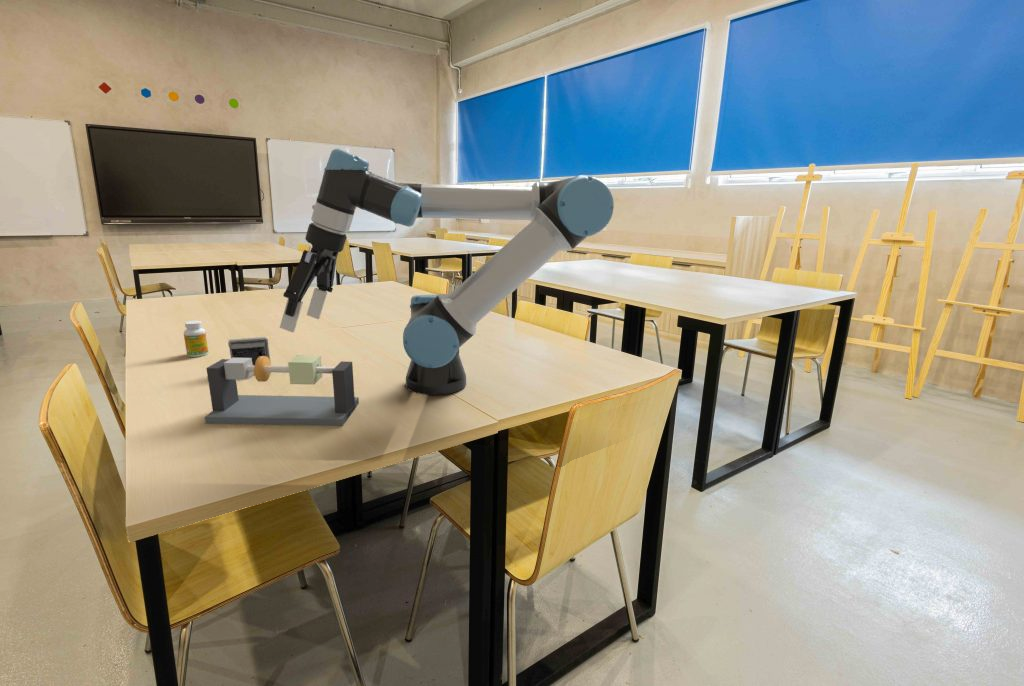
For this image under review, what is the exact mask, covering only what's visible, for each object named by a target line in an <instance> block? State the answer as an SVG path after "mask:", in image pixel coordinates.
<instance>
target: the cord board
mask: <svg viewBox="0 0 1024 686" xmlns="http://www.w3.org/2000/svg"><path fill="white" fill-rule="evenodd" d="M270 361H271V359H270V360H269V358H268V357H267V356H259V357H258V358H257V360H256V362H255V365H252V358H231V357H230V359H228V358H226V359H225V358H222V359H220V360H218V361H217V362H215V363H213V364H212V365H209V366H208V367H206V374H207V380H208V388H209V394H210V401H211V407H212V408H211V409H212V410H211V411H210V412H209V413H208V414H207V415H205V416H204V421H205V422H204V423H205V424H208V425H265V426H267V425H271V426H273V425H275V426H277V425H278V426H326V427H327V426H329V427H330V426H331V427H332V426H333V427H336V426H337V427H343V426H345V424H346V422H347V420H348V419H349V418H350V417H351V415H352V414H353V412H354V411H355V410H356V408H357V407H358V406H359V404H360V398H359V396H355V384H354V383H355V382H354V370H353V368H354V367H353V361H340V362H339V363H338V364H337V365H336V366H322V367H315V369H316V373H322V374H330V375H332V387H333V388H332V389H333V396H317V395H316V396H311V395H310V396H309V395H307V396H306V395H256V394H254V395H253V394H249V395H248V394H239V392H238V387H237V386H238V383H237V380H247V379H249V377H251V376H253V375H254V377H255V379H256V381H258V382H259V383H260V382H261V383H262V382H264V383H265V382H267V381H268V380H269V378H270V376H271V373H276V374H277V373H278V374H279V373H283V374H284V373H285V374H286V373H289V366H288V365H272V363H270Z"/></svg>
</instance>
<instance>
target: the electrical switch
mask: <svg viewBox="0 0 1024 686" xmlns="http://www.w3.org/2000/svg"><path fill="white" fill-rule="evenodd" d="M227 344H228V348H229V354H230V359H231V358H252V365H255V362H256V360H257V358H258V357H259V356H267V357H268V358H269V360H270V363H271V355H270V347H269V339H268V337H267V336H259V337H245V338H232V339H229V340H228V341H227ZM271 364H272V363H271Z"/></svg>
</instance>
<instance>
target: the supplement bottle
mask: <svg viewBox="0 0 1024 686" xmlns="http://www.w3.org/2000/svg"><path fill="white" fill-rule="evenodd" d="M202 325H203V323H202V321H201V320H189V321H186V322H184V327H185V328H186V329H184V331H183V337H184V338H183V339H184V343H185V344H184V345H185V351H186V356H187V357H191V358H199V357H200V358H201V357H204V356H206V355H208V354H209V347H208V340H207V332H206V330H205V329H204V328H203V326H202Z"/></svg>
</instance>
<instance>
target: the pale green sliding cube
mask: <svg viewBox="0 0 1024 686" xmlns="http://www.w3.org/2000/svg"><path fill="white" fill-rule="evenodd" d="M287 366H289V375H288V376H289V384H290V385H316V383H318V382H319V381H320V380H321V379H322V378H323V373H316V369H315V367H323V366H322V356H321V355H299V354H298V355H296V356H294V357H293V358H291V359H290V360H289V361H288V362H287Z"/></svg>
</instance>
